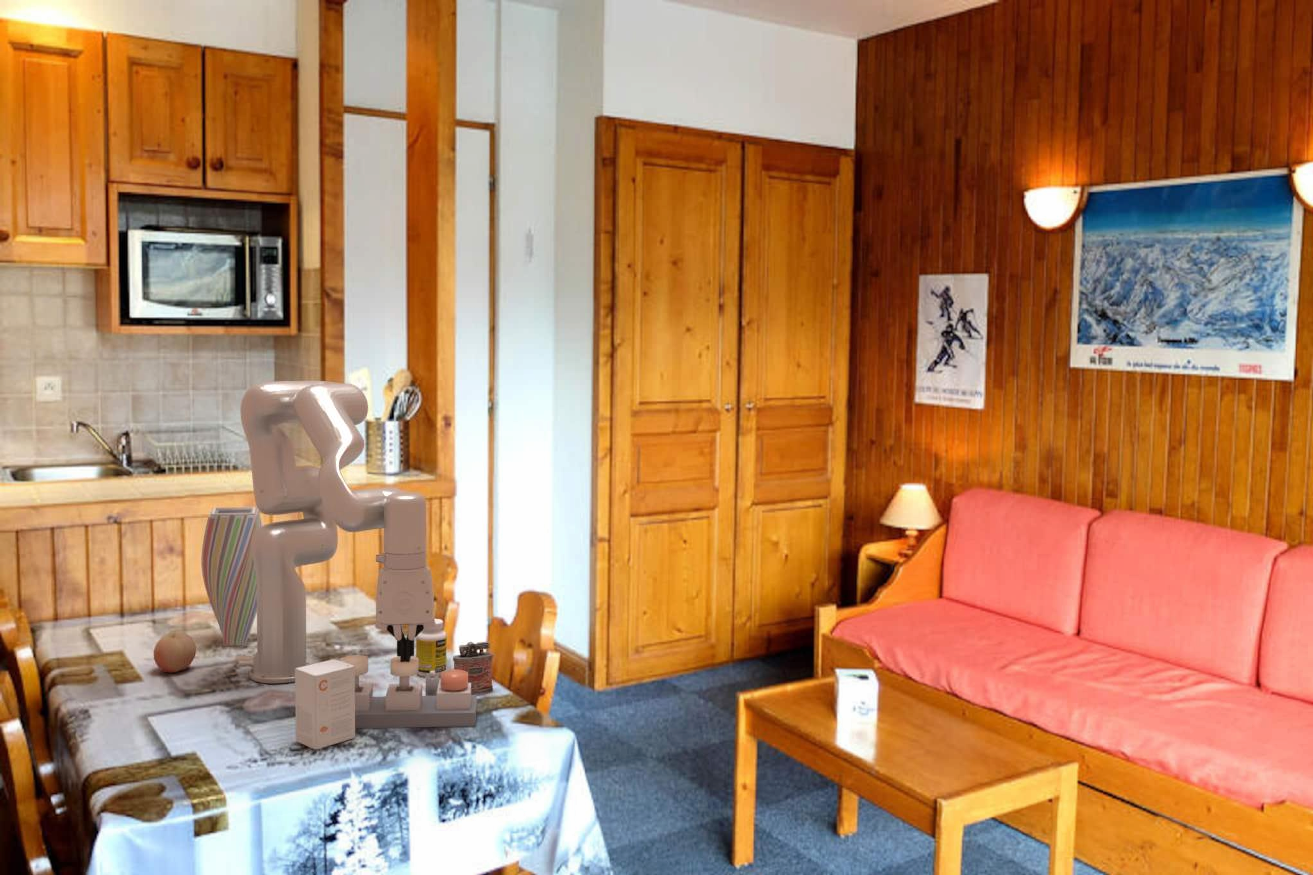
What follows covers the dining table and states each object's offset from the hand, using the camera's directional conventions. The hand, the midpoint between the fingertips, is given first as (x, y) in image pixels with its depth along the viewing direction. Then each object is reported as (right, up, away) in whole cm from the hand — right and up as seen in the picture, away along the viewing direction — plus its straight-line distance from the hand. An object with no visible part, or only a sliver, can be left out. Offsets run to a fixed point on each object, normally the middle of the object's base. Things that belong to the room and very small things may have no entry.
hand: (405, 659), depth 208 cm
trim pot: (+3, -10, +10) cm, 15 cm away
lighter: (+10, -10, +17) cm, 22 cm away
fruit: (-53, -8, +26) cm, 60 cm away
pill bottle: (-1, -9, +29) cm, 30 cm away
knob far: (+8, -8, +2) cm, 12 cm away
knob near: (-9, -5, 0) cm, 11 cm away
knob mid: (0, -5, +1) cm, 5 cm away
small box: (-12, -12, -11) cm, 20 cm away
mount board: (-1, -11, +1) cm, 11 cm away
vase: (-49, -6, +48) cm, 68 cm away
